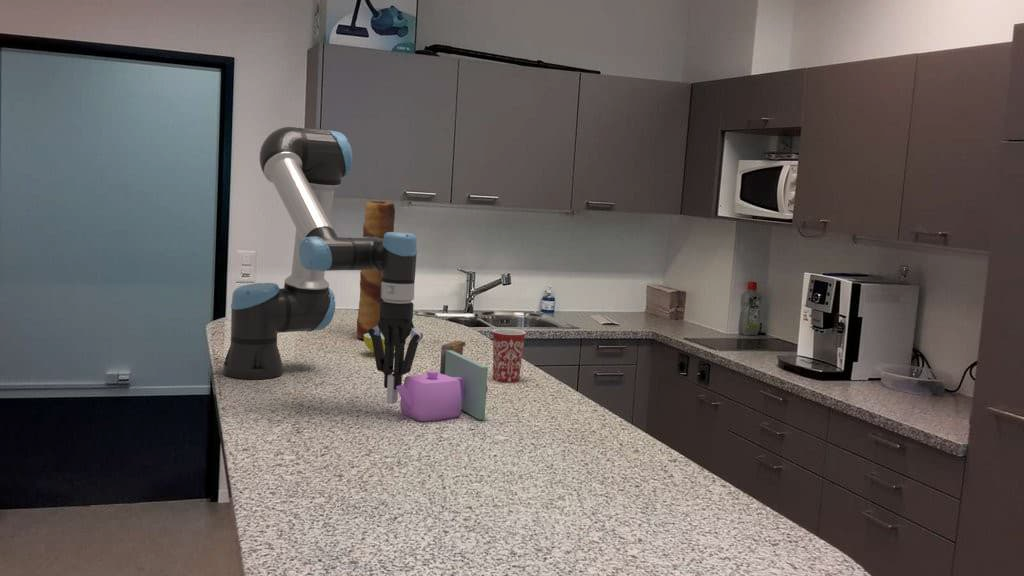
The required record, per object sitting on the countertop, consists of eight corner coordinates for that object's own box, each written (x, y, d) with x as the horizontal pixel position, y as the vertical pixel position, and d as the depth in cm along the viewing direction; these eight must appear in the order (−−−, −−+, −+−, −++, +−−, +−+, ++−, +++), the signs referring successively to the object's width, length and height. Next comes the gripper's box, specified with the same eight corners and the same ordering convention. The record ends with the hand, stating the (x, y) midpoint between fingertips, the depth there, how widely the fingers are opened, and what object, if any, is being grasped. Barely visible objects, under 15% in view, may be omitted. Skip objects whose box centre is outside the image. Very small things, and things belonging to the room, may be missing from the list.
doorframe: (436, 398, 227) (439, 346, 226) (452, 390, 237) (455, 340, 235) (446, 400, 226) (449, 347, 225) (462, 392, 236) (465, 341, 234)
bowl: (355, 356, 273) (356, 335, 272) (375, 350, 284) (376, 330, 283) (388, 361, 269) (389, 340, 268) (407, 355, 280) (408, 334, 279)
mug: (526, 383, 250) (529, 334, 249) (493, 383, 248) (496, 333, 247) (515, 373, 263) (518, 326, 261) (484, 373, 260) (487, 325, 259)
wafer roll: (395, 339, 304) (402, 202, 299) (374, 343, 296) (380, 202, 290) (371, 335, 310) (377, 200, 305) (350, 338, 301) (356, 200, 296)
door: (443, 398, 226) (446, 350, 225) (455, 398, 227) (457, 350, 226) (478, 419, 208) (481, 367, 207) (491, 418, 210) (494, 366, 209)
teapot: (408, 425, 201) (410, 379, 200) (382, 414, 209) (384, 369, 208) (474, 416, 213) (476, 372, 211) (447, 405, 221) (450, 363, 219)
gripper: (363, 299, 208) (358, 402, 211) (415, 305, 204) (410, 409, 207) (379, 296, 215) (374, 395, 218) (430, 302, 211) (424, 403, 214)
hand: (391, 402), depth 212 cm, fingers closed
